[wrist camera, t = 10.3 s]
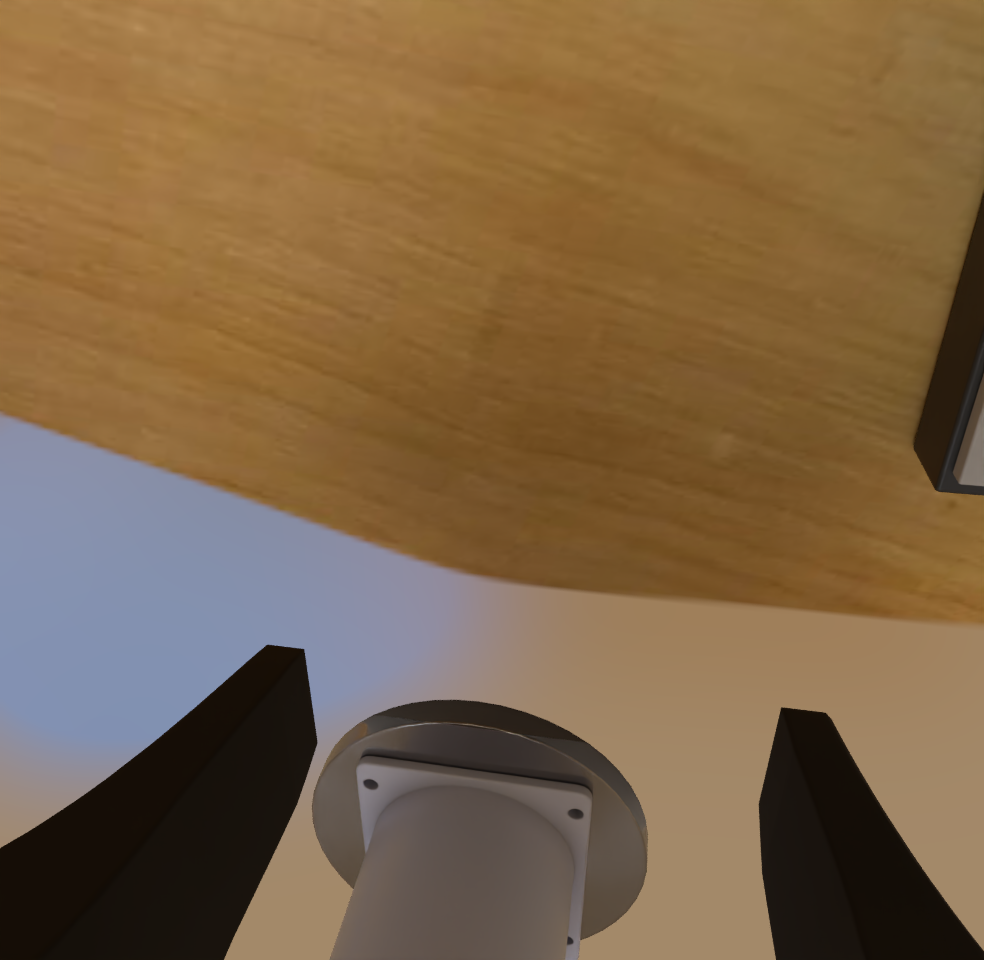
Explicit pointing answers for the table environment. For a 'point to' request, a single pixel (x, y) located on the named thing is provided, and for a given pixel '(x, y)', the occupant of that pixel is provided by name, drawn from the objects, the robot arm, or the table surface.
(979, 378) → the scale
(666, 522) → the table surface
